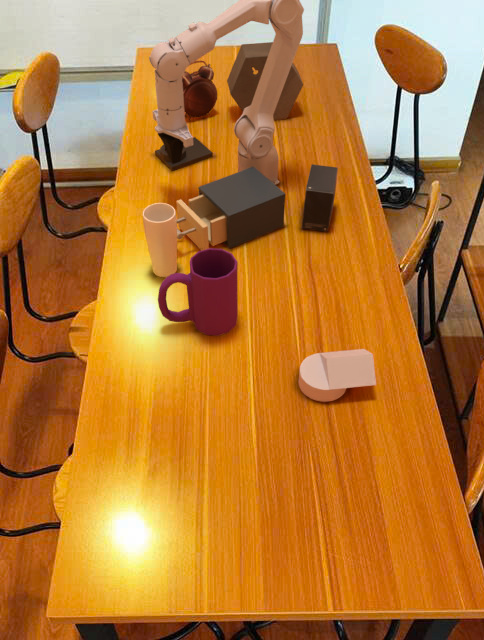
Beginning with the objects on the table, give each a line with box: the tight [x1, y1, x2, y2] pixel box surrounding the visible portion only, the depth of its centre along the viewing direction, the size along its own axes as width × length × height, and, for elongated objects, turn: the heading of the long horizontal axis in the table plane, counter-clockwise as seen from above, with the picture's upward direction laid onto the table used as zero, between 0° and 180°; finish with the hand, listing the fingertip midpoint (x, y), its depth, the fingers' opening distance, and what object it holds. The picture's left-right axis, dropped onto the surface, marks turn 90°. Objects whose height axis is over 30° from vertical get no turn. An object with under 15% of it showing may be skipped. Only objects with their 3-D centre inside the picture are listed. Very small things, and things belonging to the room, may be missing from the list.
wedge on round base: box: [298, 348, 377, 403], centre depth 126 cm, size 9×7×13 cm
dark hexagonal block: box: [226, 41, 304, 121], centre depth 184 cm, size 17×8×21 cm
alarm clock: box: [182, 60, 218, 121], centre depth 184 cm, size 11×5×15 cm, turn 115°
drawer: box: [175, 194, 227, 251], centre depth 153 cm, size 18×12×7 cm, turn 122°
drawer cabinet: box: [198, 167, 286, 250], centre depth 156 cm, size 15×13×9 cm
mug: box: [157, 247, 239, 337], centre depth 133 cm, size 9×16×15 cm, turn 99°
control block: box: [154, 136, 213, 172], centre depth 177 cm, size 12×9×3 cm
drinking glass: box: [142, 202, 178, 278], centre depth 143 cm, size 7×7×15 cm
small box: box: [301, 163, 339, 232], centre depth 156 cm, size 11×6×10 cm, turn 168°
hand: (175, 161), depth 158 cm, fingers closed
